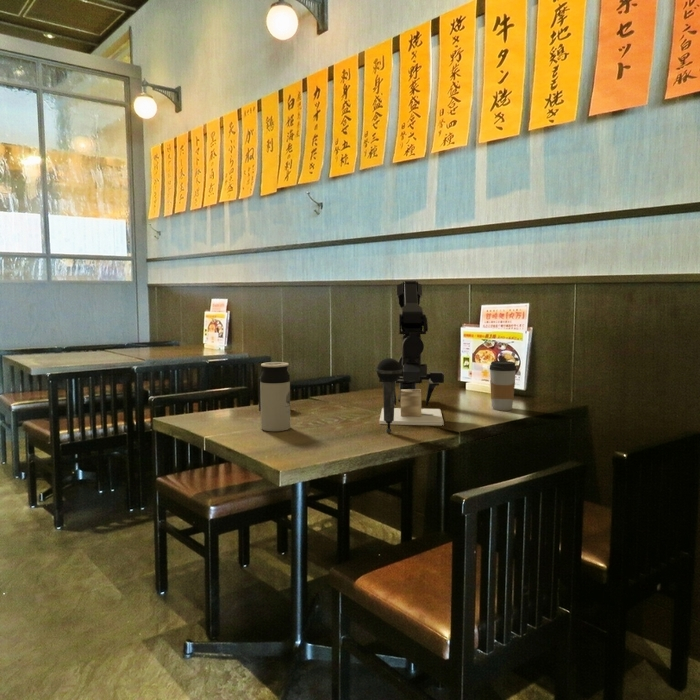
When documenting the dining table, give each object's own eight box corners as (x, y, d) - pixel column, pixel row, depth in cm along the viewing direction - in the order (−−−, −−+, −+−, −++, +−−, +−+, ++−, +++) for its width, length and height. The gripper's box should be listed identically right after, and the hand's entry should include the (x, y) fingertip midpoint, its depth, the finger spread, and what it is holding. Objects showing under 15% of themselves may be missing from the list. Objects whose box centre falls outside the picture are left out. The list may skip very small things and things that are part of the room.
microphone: (383, 437, 147) (383, 360, 145) (371, 431, 153) (371, 357, 151) (406, 434, 150) (407, 359, 148) (394, 429, 156) (394, 356, 154)
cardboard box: (400, 416, 167) (400, 392, 166) (400, 412, 173) (400, 388, 172) (421, 416, 167) (421, 392, 166) (420, 412, 173) (420, 388, 172)
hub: (382, 411, 180) (382, 393, 179) (439, 412, 178) (440, 394, 177) (379, 424, 162) (379, 405, 161) (443, 425, 160) (443, 406, 160)
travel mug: (255, 430, 154) (254, 364, 153) (270, 424, 162) (269, 361, 160) (282, 433, 152) (281, 366, 150) (295, 426, 159) (294, 362, 157)
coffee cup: (516, 412, 178) (517, 364, 176) (488, 410, 180) (490, 363, 178) (514, 406, 186) (515, 361, 185) (488, 405, 188) (489, 360, 186)
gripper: (378, 355, 161) (378, 410, 162) (445, 356, 159) (444, 411, 161) (380, 351, 172) (380, 402, 174) (443, 352, 170) (442, 403, 172)
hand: (411, 405), depth 170 cm, fingers open, 9 cm apart
